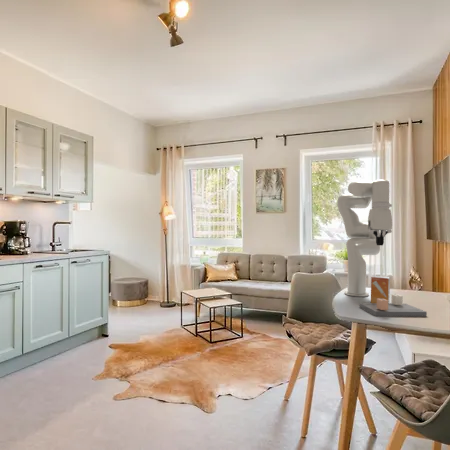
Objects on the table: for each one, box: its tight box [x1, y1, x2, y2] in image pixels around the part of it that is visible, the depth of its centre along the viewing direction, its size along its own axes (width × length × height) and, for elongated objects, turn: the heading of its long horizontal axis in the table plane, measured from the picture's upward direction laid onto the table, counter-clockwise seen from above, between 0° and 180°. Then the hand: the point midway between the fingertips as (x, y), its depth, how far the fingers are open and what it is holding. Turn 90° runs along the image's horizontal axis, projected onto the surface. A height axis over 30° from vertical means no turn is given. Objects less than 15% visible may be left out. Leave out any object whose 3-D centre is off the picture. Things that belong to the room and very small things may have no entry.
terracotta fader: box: [377, 298, 388, 310], centre depth 152 cm, size 4×3×4 cm
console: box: [358, 302, 428, 317], centre depth 157 cm, size 16×22×2 cm
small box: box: [370, 275, 391, 303], centre depth 176 cm, size 8×6×13 cm
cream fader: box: [391, 293, 403, 305], centre depth 162 cm, size 4×3×4 cm
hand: (379, 245), depth 167 cm, fingers closed
